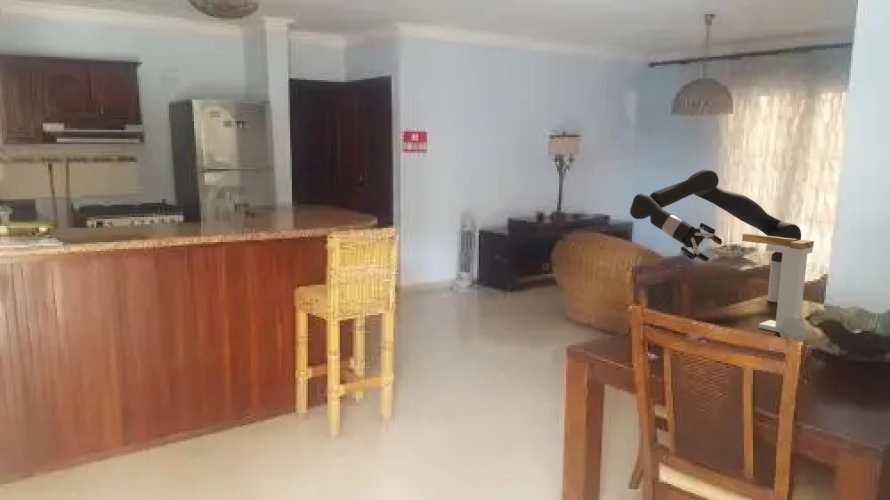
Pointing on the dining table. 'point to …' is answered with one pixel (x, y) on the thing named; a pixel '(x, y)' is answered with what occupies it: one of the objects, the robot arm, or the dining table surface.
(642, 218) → the robot arm
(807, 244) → the t bar
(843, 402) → the dining table surface
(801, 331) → the die
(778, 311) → the i beam
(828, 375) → the dining table surface
